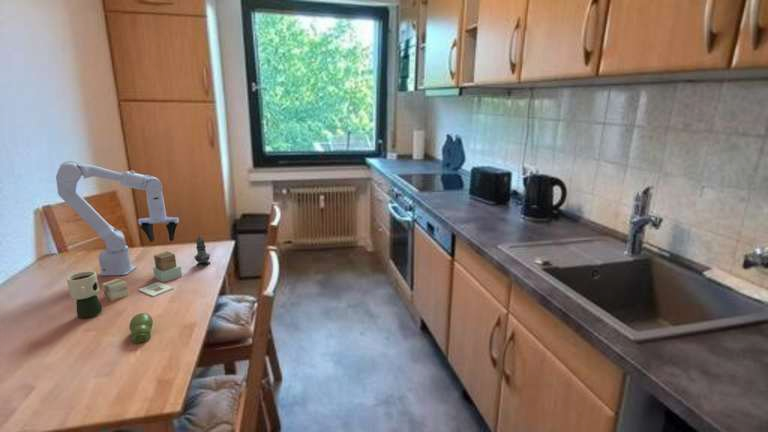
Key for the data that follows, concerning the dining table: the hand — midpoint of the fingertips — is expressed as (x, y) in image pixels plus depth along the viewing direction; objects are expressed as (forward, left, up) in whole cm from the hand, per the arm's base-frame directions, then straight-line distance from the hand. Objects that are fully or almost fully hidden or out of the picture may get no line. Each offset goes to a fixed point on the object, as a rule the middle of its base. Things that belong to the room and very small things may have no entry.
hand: (162, 240), depth 159 cm
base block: (+7, -14, -10) cm, 18 cm away
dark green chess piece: (+16, -3, -10) cm, 19 cm away
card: (+8, -25, -9) cm, 28 cm away
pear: (+18, -54, -10) cm, 57 cm away
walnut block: (+7, -14, -6) cm, 17 cm away
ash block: (-3, -29, -10) cm, 31 cm away
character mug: (-4, -41, -10) cm, 42 cm away
